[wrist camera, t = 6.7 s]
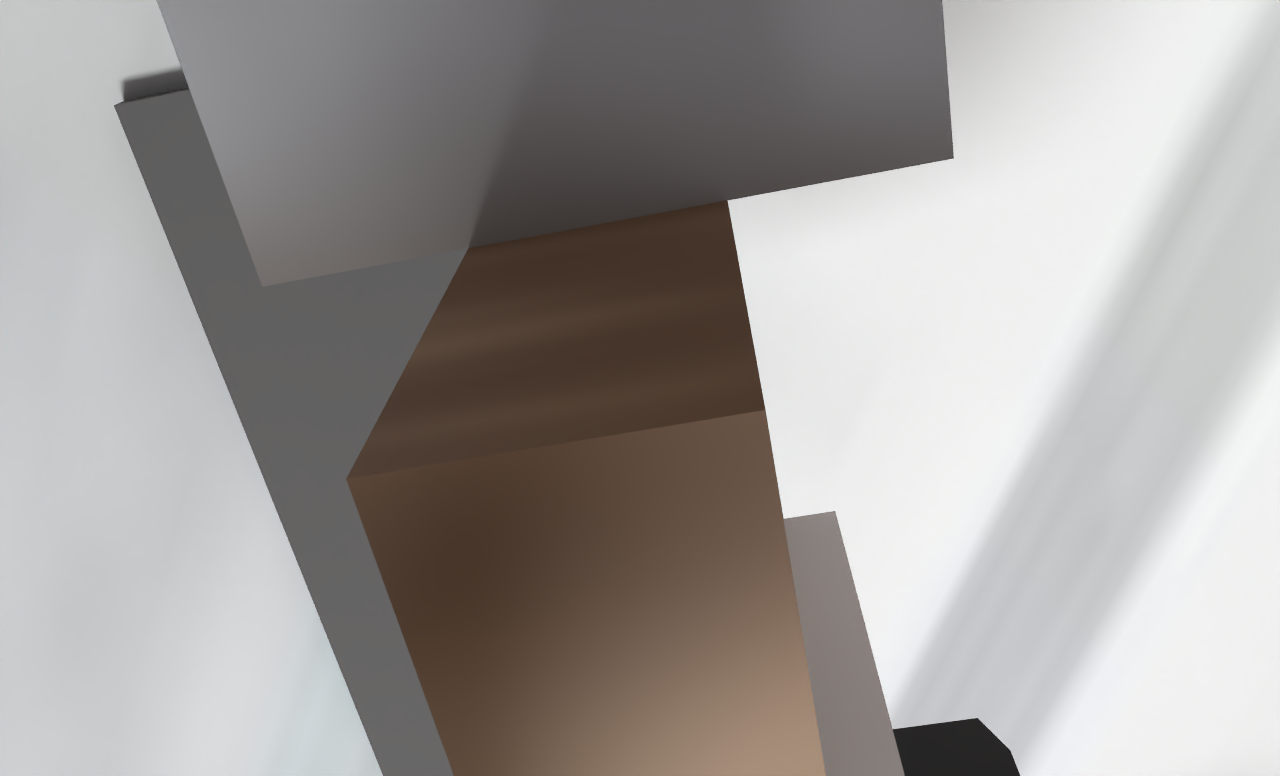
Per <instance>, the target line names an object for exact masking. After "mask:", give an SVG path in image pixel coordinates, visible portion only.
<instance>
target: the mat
mask: <svg viewBox="0 0 1280 776" xmlns="http://www.w3.org/2000/svg"><path fill="white" fill-rule="evenodd" d="M114 107H115V109H116V112H117V114H118V117H119V119H120V122H121V124H122V127H123V129H124V132H125V134H126V137H127V139H128V142H129V144H130V147H131V149H132V151H133V154H134V156H135V159H136V161H137V164H138V166H139V169H140V171H141V174H142V176H143V179H144V181H145V184H146V186H147V189H148V191H149V194H150V196H151V199H152V201H153V204H154V206H155V209H156V211H157V214H158V216H159V219H160V221H161V224H162V226H163V229H164V231H165V234H166V236H167V239H168V241H169V244H170V246H171V249H172V251H173V254H174V256H175V259H176V261H177V263H178V266H179V268H180V271H181V273H182V276H183V278H184V281H185V283H186V286H187V288H188V291H189V293H190V296H191V298H192V301H193V303H194V306H195V308H196V311H197V313H198V316H199V318H200V321H201V323H202V326H203V328H204V331H205V333H206V336H207V338H208V341H209V343H210V346H211V348H212V351H213V353H214V356H215V358H216V361H217V363H218V366H219V368H220V371H221V373H222V375H223V378H224V380H225V383H226V385H227V388H228V390H229V393H230V395H231V398H232V400H233V403H234V405H235V408H236V410H237V413H238V415H239V418H240V420H241V423H242V425H243V428H244V430H245V433H246V435H247V438H248V440H249V443H250V445H251V448H252V450H253V453H254V455H255V458H256V460H257V463H258V465H259V468H260V470H261V473H262V475H263V478H264V480H265V483H266V485H267V487H268V490H269V492H270V495H271V497H272V500H273V502H274V505H275V507H276V510H277V512H278V515H279V517H280V520H281V522H282V525H283V527H284V530H285V532H286V535H287V537H288V540H289V542H290V545H291V547H292V550H293V552H294V555H295V557H296V560H297V562H298V565H299V567H300V570H301V572H302V575H303V577H304V580H305V582H306V585H307V587H308V590H309V592H310V595H311V597H312V600H313V602H314V604H315V607H316V609H317V612H318V614H319V617H320V619H321V622H322V624H323V627H324V629H325V632H326V634H327V637H328V639H329V642H330V644H331V647H332V649H333V652H334V654H335V657H336V659H337V662H338V664H339V667H340V669H341V672H342V674H343V677H344V679H345V682H346V684H347V687H348V689H349V692H350V694H351V697H352V699H353V702H354V704H355V707H356V709H357V712H358V714H359V716H360V719H361V721H362V724H363V726H364V729H365V731H366V734H367V736H368V739H369V741H370V744H371V746H372V749H373V751H374V754H375V756H376V759H377V761H378V764H379V766H380V769H381V771H382V774H383V776H454V775H453V772H452V769H451V767H450V764H449V761H448V758H447V756H446V753H445V750H444V747H443V745H442V742H441V739H440V736H439V734H438V731H437V728H436V725H435V723H434V720H433V717H432V714H431V712H430V709H429V706H428V703H427V701H426V698H425V695H424V692H423V689H422V687H421V684H420V681H419V678H418V676H417V673H416V670H415V667H414V665H413V662H412V659H411V656H410V654H409V651H408V648H407V645H406V643H405V640H404V637H403V634H402V632H401V629H400V626H399V623H398V621H397V618H396V615H395V612H394V610H393V607H392V604H391V601H390V599H389V596H388V593H387V590H386V588H385V585H384V582H383V579H382V577H381V574H380V571H379V568H378V566H377V563H376V560H375V557H374V555H373V552H372V549H371V546H370V543H369V541H368V538H367V535H366V532H365V530H364V527H363V524H362V521H361V519H360V516H359V513H358V510H357V508H356V505H355V502H354V499H353V497H352V494H351V491H350V488H349V486H348V483H347V480H346V478H347V476H348V475H349V473H350V471H351V469H352V467H353V465H354V463H355V461H356V459H357V458H358V456H359V454H360V452H361V450H362V448H363V446H364V444H365V442H366V441H367V439H368V437H369V435H370V433H371V431H372V429H373V427H374V425H375V424H376V422H377V420H378V418H379V416H380V414H381V412H382V410H383V409H384V407H385V405H386V403H387V401H388V399H389V397H390V395H391V393H392V392H393V390H394V388H395V386H396V384H397V382H398V380H399V378H400V376H401V375H402V373H403V371H404V369H405V367H406V365H407V363H408V361H409V359H410V358H411V356H412V354H413V352H414V350H415V348H416V346H417V344H418V342H419V341H420V339H421V337H422V335H423V333H424V331H425V329H426V327H427V326H428V324H429V322H430V320H431V318H432V316H433V314H434V312H435V310H436V309H437V307H438V305H439V303H440V301H441V299H442V297H443V295H444V293H445V292H446V290H447V288H448V286H449V284H450V282H451V280H452V278H453V276H454V275H455V273H456V271H457V269H458V267H459V265H460V263H461V261H462V259H463V258H464V256H465V254H466V252H467V250H468V249H463V250H458V251H452V252H447V253H441V254H436V255H431V256H425V257H420V258H414V259H409V260H404V261H398V262H393V263H388V264H382V265H377V266H371V267H366V268H361V269H355V270H350V271H345V272H339V273H334V274H328V275H323V276H318V277H312V278H307V279H301V280H296V281H291V282H285V283H280V284H275V285H269V286H264V287H262V284H261V282H260V279H259V276H258V274H257V271H256V268H255V265H254V263H253V260H252V257H251V255H250V252H249V249H248V246H247V244H246V241H245V238H244V236H243V233H242V230H241V228H240V225H239V222H238V219H237V217H236V214H235V211H234V209H233V206H232V203H231V200H230V198H229V195H228V192H227V190H226V187H225V184H224V181H223V179H222V176H221V173H220V171H219V168H218V165H217V162H216V160H215V157H214V154H213V152H212V149H211V146H210V143H209V141H208V138H207V135H206V133H205V130H204V127H203V124H202V122H201V119H200V116H199V114H198V111H197V108H196V106H195V103H194V100H193V97H192V95H191V92H190V89H189V88H187V89H182V90H177V91H172V92H168V93H163V94H158V95H153V96H148V97H143V98H138V99H134V100H129V101H124V102H121V103H118V104H116V105H114Z"/></svg>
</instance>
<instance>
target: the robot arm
mask: <svg viewBox="0 0 1280 776" xmlns="http://www.w3.org/2000/svg"><path fill="white" fill-rule="evenodd" d="M783 520H784V526H785V532H786V538H787V544H788V550H789V556H790V562H791V568H792V574H793V580H794V586H795V592H796V598H797V604H798V610H799V616H800V622H801V628H802V634H803V640H804V646H805V652H806V658H807V664H808V670H809V676H810V682H811V688H812V694H813V700H814V706H815V712H816V718H817V725H818V731H819V737H820V743H821V749H822V755H823V761H824V767H825V773H826V776H1020V774H1019V772H1018V769H1017V766H1016V764H1015V761H1014V759H1013V756H1012V754H1011V751H1010V750H1009V749H1008V748H1007V747H1006V746H1005V745H1004V744H1003V743H1002V742H1001V741H1000V740H999V739H998V738H997V737H996V736H995V735H994V734H993V733H992V732H991V731H990V730H989V729H988V728H987V727H986V726H985V725H984V724H983V723H982V722H981V721H980V720H979V719H978V718H975V719H967V720H960V721H952V722H945V723H937V724H930V725H922V726H915V727H907V728H900V729H892V725H891V722H890V718H889V714H888V710H887V706H886V703H885V699H884V695H883V691H882V687H881V684H880V680H879V676H878V672H877V668H876V665H875V661H874V657H873V653H872V649H871V646H870V642H869V638H868V634H867V630H866V627H865V623H864V619H863V615H862V612H861V608H860V604H859V600H858V596H857V593H856V589H855V585H854V581H853V577H852V574H851V570H850V566H849V562H848V558H847V555H846V551H845V547H844V543H843V539H842V536H841V532H840V528H839V524H838V520H837V517H836V513H835V511H833V512H826V513H820V514H813V515H807V516H800V517H794V518H787V519H783Z"/></svg>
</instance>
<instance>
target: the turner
mask: <svg viewBox="0 0 1280 776" xmlns="http://www.w3.org/2000/svg"><path fill="white" fill-rule="evenodd" d="M157 2H158V5H159V8H160V11H161V13H162V16H163V19H164V21H165V24H166V27H167V30H168V32H169V35H170V38H171V40H172V43H173V46H174V49H175V51H176V54H177V57H178V59H179V62H180V65H181V68H182V70H183V73H184V76H185V78H186V81H187V84H188V87H189V89H190V92H191V95H192V97H193V100H194V103H195V106H196V108H197V111H198V114H199V116H200V119H201V122H202V124H203V127H204V130H205V133H206V135H207V138H208V141H209V143H210V146H211V149H212V152H213V154H214V157H215V160H216V162H217V165H218V168H219V171H220V173H221V176H222V179H223V181H224V184H225V187H226V190H227V192H228V195H229V198H230V200H231V203H232V206H233V209H234V211H235V214H236V217H237V219H238V222H239V225H240V228H241V230H242V233H243V236H244V238H245V241H246V244H247V246H248V249H249V252H250V255H251V257H252V260H253V263H254V265H255V268H256V271H257V274H258V276H259V279H260V282H261V284H262V287H264V286H269V285H275V284H280V283H285V282H291V281H296V280H301V279H307V278H312V277H318V276H323V275H328V274H334V273H339V272H345V271H350V270H355V269H361V268H366V267H371V266H377V265H382V264H388V263H393V262H398V261H404V260H409V259H414V258H420V257H425V256H431V255H436V254H441V253H447V252H452V251H458V250H463V249H468V250H467V252H466V254H465V256H464V258H463V259H462V261H461V263H460V265H459V267H458V269H457V271H456V273H455V275H454V276H453V278H452V280H451V282H450V284H449V286H448V288H447V290H446V292H445V293H444V295H443V297H442V299H441V301H440V303H439V305H438V307H437V309H436V310H435V312H434V314H433V316H432V318H431V320H430V322H429V324H428V326H427V327H426V329H425V331H424V333H423V335H422V337H421V339H420V341H419V342H418V344H417V346H416V348H415V350H414V352H413V354H412V356H411V358H410V359H409V361H408V363H407V365H406V367H405V369H404V371H403V373H402V375H401V376H400V378H399V380H398V382H397V384H396V386H395V388H394V390H393V392H392V393H391V395H390V397H389V399H388V401H387V403H386V405H385V407H384V409H383V410H382V412H381V414H380V416H379V418H378V420H377V422H376V424H375V425H374V427H373V429H372V431H371V433H370V435H369V437H368V439H367V441H366V442H365V444H364V446H363V448H362V450H361V452H360V454H359V456H358V458H357V459H356V461H355V463H354V465H353V467H352V469H351V471H350V473H349V475H348V476H347V478H346V480H347V483H348V486H349V488H350V491H351V494H352V497H353V499H354V502H355V505H356V508H357V510H358V513H359V516H360V519H361V521H362V524H363V527H364V530H365V532H366V535H367V538H368V541H369V543H370V546H371V549H372V552H373V555H374V557H375V560H376V563H377V566H378V568H379V571H380V574H381V577H382V579H383V582H384V585H385V588H386V590H387V593H388V596H389V599H390V601H391V604H392V607H393V610H394V612H395V615H396V618H397V621H398V623H399V626H400V629H401V632H402V634H403V637H404V640H405V643H406V645H407V648H408V651H409V654H410V656H411V659H412V662H413V665H414V667H415V670H416V673H417V676H418V678H419V681H420V684H421V687H422V689H423V692H424V695H425V698H426V701H427V703H428V706H429V709H430V712H431V714H432V717H433V720H434V723H435V725H436V728H437V731H438V734H439V736H440V739H441V742H442V745H443V747H444V750H445V753H446V756H447V758H448V761H449V764H450V767H451V769H452V772H453V775H454V776H826V773H825V767H824V761H823V755H822V749H821V743H820V737H819V731H818V725H817V718H816V712H815V706H814V700H813V694H812V688H811V682H810V676H809V670H808V664H807V658H806V652H805V646H804V640H803V634H802V628H801V622H800V616H799V610H798V604H797V598H796V592H795V586H794V580H793V574H792V568H791V562H790V556H789V550H788V544H787V538H786V532H785V526H784V520H783V514H782V508H781V502H780V495H779V489H778V483H777V477H776V471H775V465H774V459H773V453H772V447H771V441H770V435H769V429H768V423H767V417H766V411H765V406H764V400H763V394H762V389H761V383H760V378H759V372H758V367H757V361H756V356H755V350H754V345H753V339H752V334H751V328H750V323H749V317H748V312H747V306H746V301H745V295H744V290H743V284H742V279H741V273H740V268H739V262H738V257H737V251H736V246H735V240H734V234H733V229H732V223H731V218H730V212H729V207H728V201H727V200H732V199H737V198H743V197H748V196H753V195H759V194H764V193H770V192H775V191H780V190H786V189H791V188H796V187H802V186H807V185H813V184H818V183H823V182H829V181H834V180H840V179H845V178H850V177H856V176H861V175H866V174H872V173H877V172H883V171H888V170H893V169H899V168H904V167H909V166H915V165H920V164H926V163H931V162H936V161H942V160H947V159H953V158H954V156H953V142H952V129H951V115H950V102H949V88H948V75H947V61H946V48H945V34H944V21H943V7H942V0H157Z"/></svg>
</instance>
